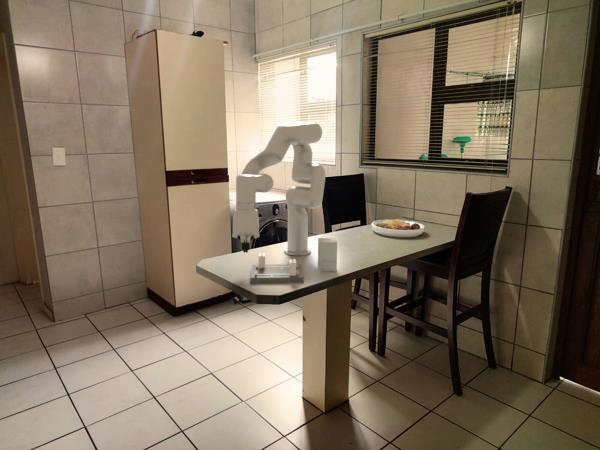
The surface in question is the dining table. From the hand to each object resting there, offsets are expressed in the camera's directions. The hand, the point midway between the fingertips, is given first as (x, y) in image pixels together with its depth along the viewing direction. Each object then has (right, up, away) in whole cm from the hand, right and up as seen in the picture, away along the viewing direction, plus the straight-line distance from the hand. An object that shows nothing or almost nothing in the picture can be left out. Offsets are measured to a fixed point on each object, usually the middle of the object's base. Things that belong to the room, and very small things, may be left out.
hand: (245, 251), depth 160 cm
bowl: (+79, +6, +76) cm, 109 cm away
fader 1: (+6, -6, +2) cm, 9 cm away
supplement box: (+33, -8, +8) cm, 35 cm away
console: (+13, -9, -1) cm, 16 cm away
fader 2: (+19, -8, -6) cm, 21 cm away
